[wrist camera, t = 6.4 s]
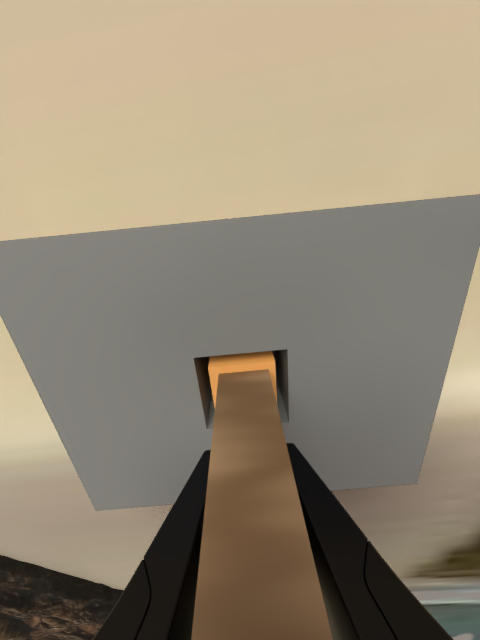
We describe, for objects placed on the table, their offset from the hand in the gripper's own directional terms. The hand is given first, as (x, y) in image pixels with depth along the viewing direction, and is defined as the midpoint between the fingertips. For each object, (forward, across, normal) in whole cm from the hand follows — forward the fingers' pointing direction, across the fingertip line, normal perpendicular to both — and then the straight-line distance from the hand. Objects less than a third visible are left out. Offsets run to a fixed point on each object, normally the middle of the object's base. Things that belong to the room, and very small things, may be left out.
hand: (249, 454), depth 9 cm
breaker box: (+8, 0, 0) cm, 8 cm away
